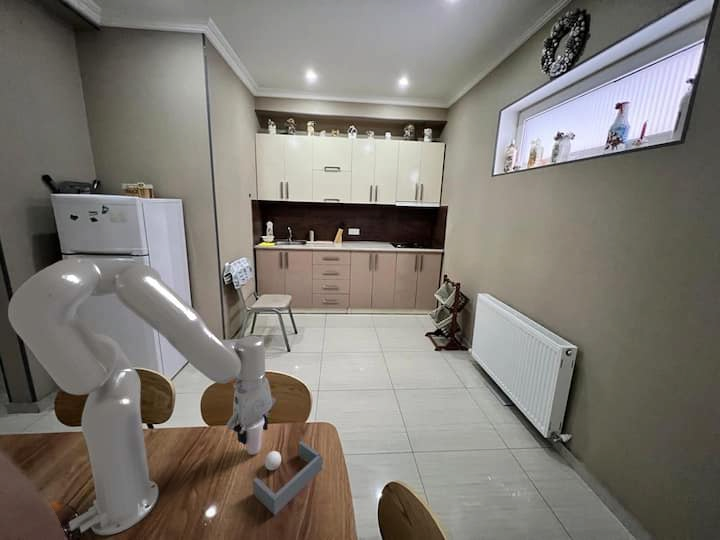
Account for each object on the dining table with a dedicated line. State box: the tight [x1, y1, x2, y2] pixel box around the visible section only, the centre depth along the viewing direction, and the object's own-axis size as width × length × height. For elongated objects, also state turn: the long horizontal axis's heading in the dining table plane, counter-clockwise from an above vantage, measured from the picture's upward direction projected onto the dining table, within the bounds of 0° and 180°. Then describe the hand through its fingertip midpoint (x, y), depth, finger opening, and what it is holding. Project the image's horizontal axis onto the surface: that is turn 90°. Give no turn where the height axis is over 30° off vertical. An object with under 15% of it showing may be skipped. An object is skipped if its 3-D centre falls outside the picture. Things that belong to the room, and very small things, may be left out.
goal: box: [252, 440, 323, 516], centre depth 76 cm, size 16×8×4 cm, turn 144°
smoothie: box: [245, 416, 265, 455], centre depth 84 cm, size 6×6×14 cm
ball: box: [264, 450, 282, 471], centre depth 80 cm, size 4×4×4 cm
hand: (253, 434), depth 85 cm, fingers closed on smoothie, 6 cm apart
